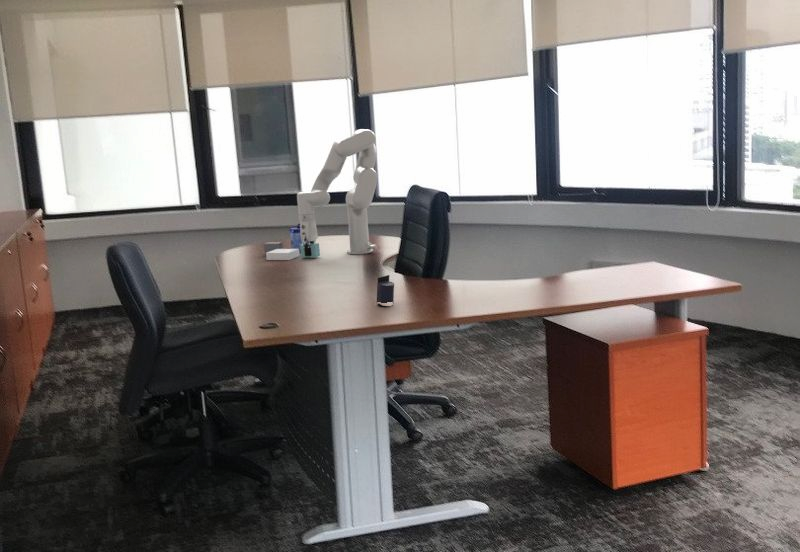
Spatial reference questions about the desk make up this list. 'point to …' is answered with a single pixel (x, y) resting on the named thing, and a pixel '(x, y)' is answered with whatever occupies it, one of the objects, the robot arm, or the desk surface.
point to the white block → (282, 254)
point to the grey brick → (272, 246)
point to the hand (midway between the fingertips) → (310, 254)
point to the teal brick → (314, 250)
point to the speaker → (385, 290)
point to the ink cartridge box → (295, 238)
